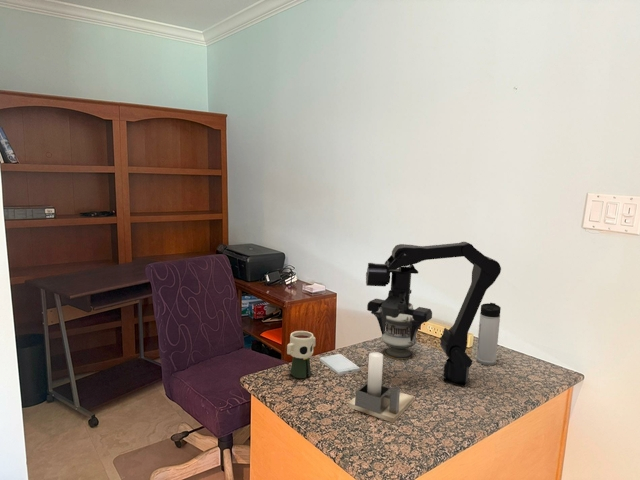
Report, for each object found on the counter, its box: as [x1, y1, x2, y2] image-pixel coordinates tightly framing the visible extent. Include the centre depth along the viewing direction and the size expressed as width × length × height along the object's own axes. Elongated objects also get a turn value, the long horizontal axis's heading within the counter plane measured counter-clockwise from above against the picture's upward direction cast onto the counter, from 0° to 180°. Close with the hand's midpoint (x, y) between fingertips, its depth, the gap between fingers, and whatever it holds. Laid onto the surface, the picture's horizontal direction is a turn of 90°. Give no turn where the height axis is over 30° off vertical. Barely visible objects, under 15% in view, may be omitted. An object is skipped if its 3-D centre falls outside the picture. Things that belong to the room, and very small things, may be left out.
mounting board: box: [347, 391, 415, 424], centre depth 120 cm, size 13×14×1 cm
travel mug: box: [475, 302, 502, 366], centre depth 150 cm, size 6×7×20 cm
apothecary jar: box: [381, 303, 418, 360], centre depth 155 cm, size 12×12×18 cm
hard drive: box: [319, 353, 362, 376], centre depth 144 cm, size 2×8×12 cm
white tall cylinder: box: [367, 351, 384, 397], centre depth 116 cm, size 4×4×13 cm
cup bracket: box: [354, 380, 401, 414], centre depth 116 cm, size 10×7×6 cm
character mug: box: [286, 330, 316, 379], centre depth 135 cm, size 11×7×13 cm, turn 132°
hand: (397, 337), depth 135 cm, fingers open, 9 cm apart
